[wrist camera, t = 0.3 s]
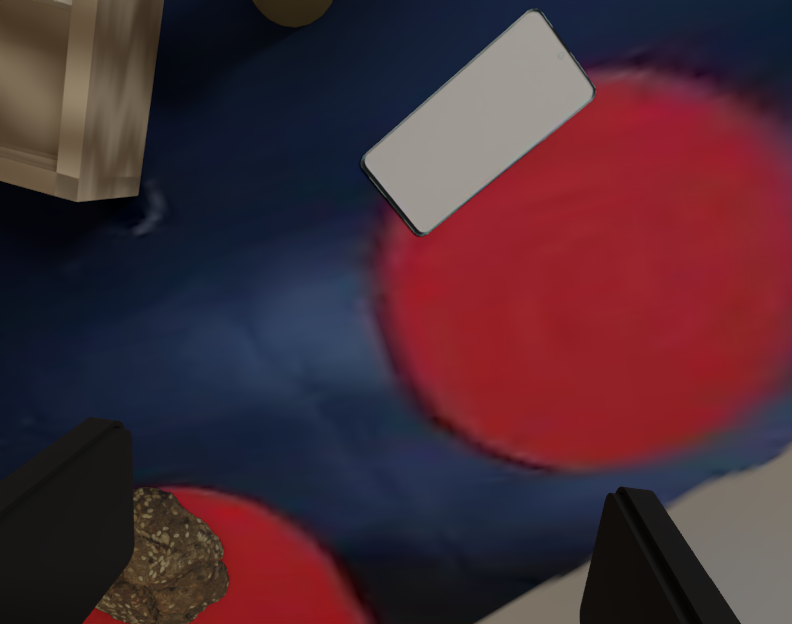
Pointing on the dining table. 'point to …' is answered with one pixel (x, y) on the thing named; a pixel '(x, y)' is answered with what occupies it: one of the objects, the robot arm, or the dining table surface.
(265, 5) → the cork
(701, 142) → the dining table surface
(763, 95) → the dining table surface
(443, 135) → the smartphone
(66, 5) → the drawer
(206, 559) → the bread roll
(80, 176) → the caddy
